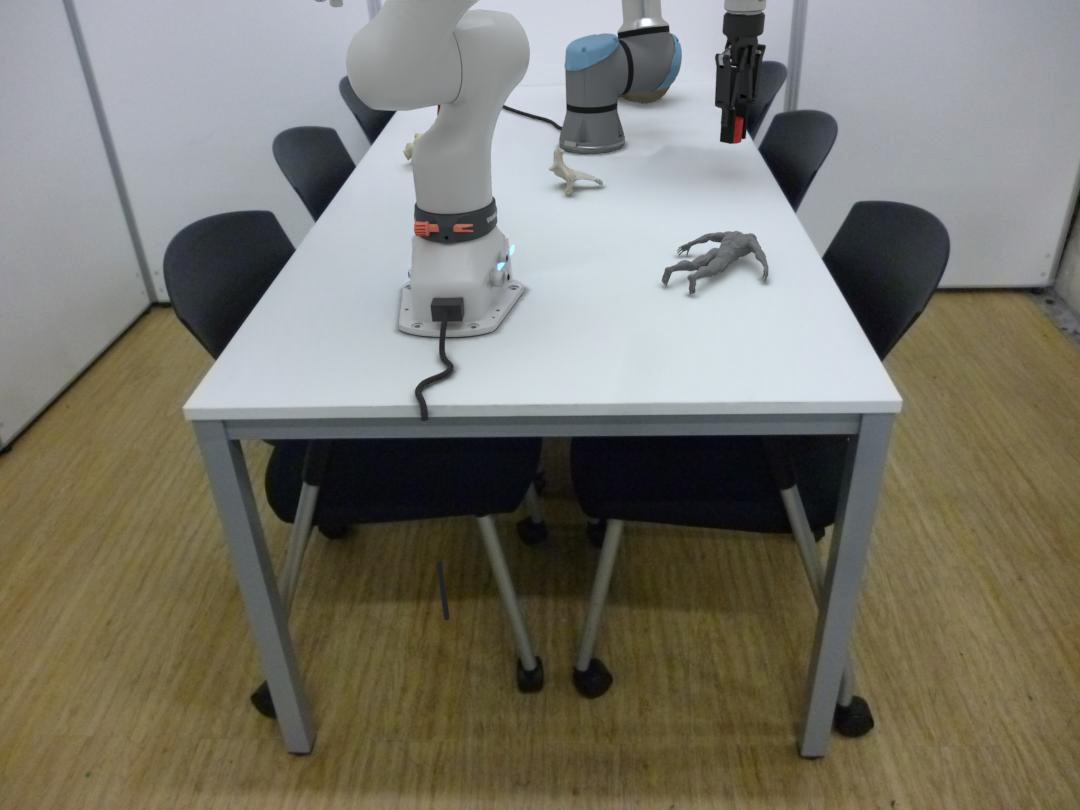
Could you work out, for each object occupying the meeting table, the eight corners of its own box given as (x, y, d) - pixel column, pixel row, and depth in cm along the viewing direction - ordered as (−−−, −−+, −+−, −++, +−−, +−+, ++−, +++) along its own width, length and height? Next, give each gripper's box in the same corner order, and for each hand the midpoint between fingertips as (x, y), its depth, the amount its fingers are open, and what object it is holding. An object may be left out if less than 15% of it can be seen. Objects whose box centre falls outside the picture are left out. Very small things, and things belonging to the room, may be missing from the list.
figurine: (723, 310, 121) (798, 261, 131) (724, 284, 118) (801, 236, 129) (634, 279, 131) (711, 236, 142) (634, 254, 129) (712, 213, 139)
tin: (725, 138, 169) (727, 115, 166) (743, 139, 167) (745, 116, 165) (721, 142, 166) (723, 120, 163) (738, 144, 165) (741, 121, 162)
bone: (576, 172, 159) (561, 138, 165) (554, 195, 163) (539, 162, 168) (611, 192, 166) (595, 159, 172) (589, 214, 170) (574, 181, 175)
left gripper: (352, -93, 125) (366, 8, 133) (314, -94, 141) (329, -3, 148) (311, -91, 123) (328, 12, 130) (277, -92, 138) (293, 0, 146)
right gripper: (735, 19, 147) (723, 153, 159) (787, 7, 156) (772, 134, 169) (700, 16, 151) (692, 146, 164) (753, 4, 161) (741, 128, 173)
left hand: (328, 4), depth 139 cm, fingers open, 8 cm apart
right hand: (732, 139), depth 166 cm, fingers closed on tin, 4 cm apart
